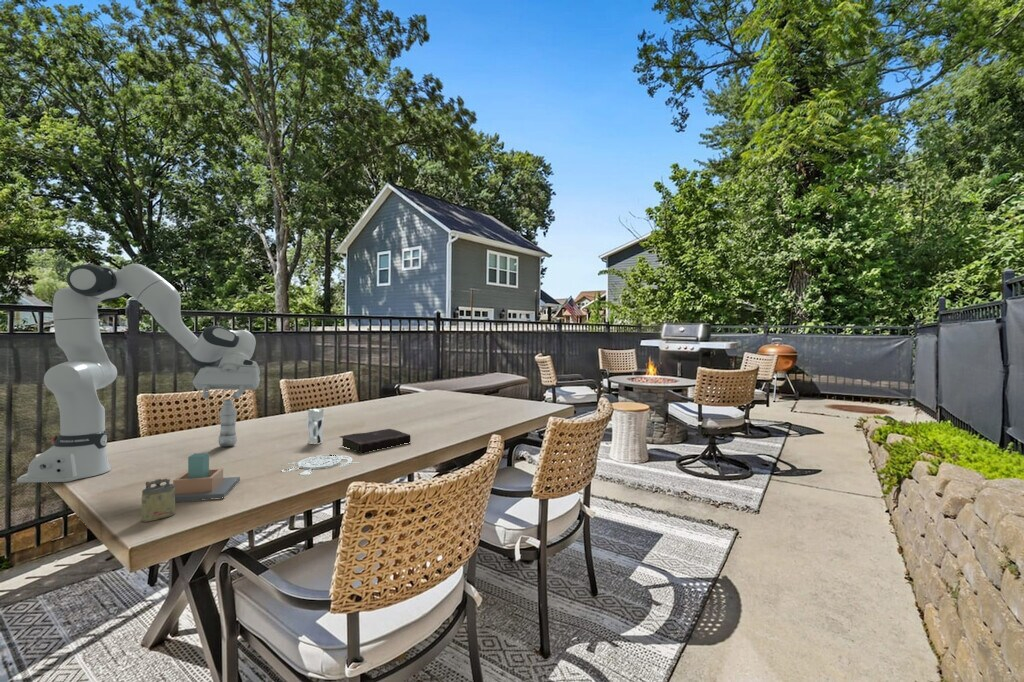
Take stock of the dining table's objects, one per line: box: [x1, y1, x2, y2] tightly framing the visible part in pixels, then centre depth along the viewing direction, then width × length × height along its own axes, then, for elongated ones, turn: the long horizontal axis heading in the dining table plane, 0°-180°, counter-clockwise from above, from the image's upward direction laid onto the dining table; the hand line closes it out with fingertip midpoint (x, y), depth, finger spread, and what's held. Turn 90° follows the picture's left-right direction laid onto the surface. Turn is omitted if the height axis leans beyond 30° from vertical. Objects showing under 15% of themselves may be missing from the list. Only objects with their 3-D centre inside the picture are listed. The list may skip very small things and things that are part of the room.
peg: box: [187, 452, 210, 479], centre depth 137 cm, size 4×4×10 cm
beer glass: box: [306, 408, 325, 445], centre depth 199 cm, size 7×7×15 cm
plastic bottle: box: [218, 399, 238, 448], centre depth 191 cm, size 6×7×20 cm
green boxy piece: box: [140, 478, 176, 523], centre depth 118 cm, size 7×4×10 cm, turn 140°
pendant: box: [281, 454, 361, 476], centre depth 169 cm, size 21×28×1 cm
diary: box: [339, 428, 412, 454], centre depth 198 cm, size 19×25×5 cm
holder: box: [172, 467, 241, 503], centre depth 137 cm, size 18×16×6 cm
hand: (220, 397), depth 152 cm, fingers open, 8 cm apart
